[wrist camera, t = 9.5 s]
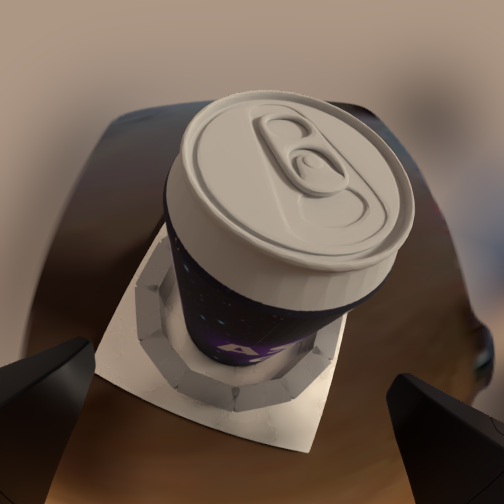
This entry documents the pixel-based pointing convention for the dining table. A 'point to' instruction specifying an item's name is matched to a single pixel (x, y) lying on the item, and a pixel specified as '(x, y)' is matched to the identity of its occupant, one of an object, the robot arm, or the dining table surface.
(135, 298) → the collar seat
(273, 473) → the dining table surface
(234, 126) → the beverage can
